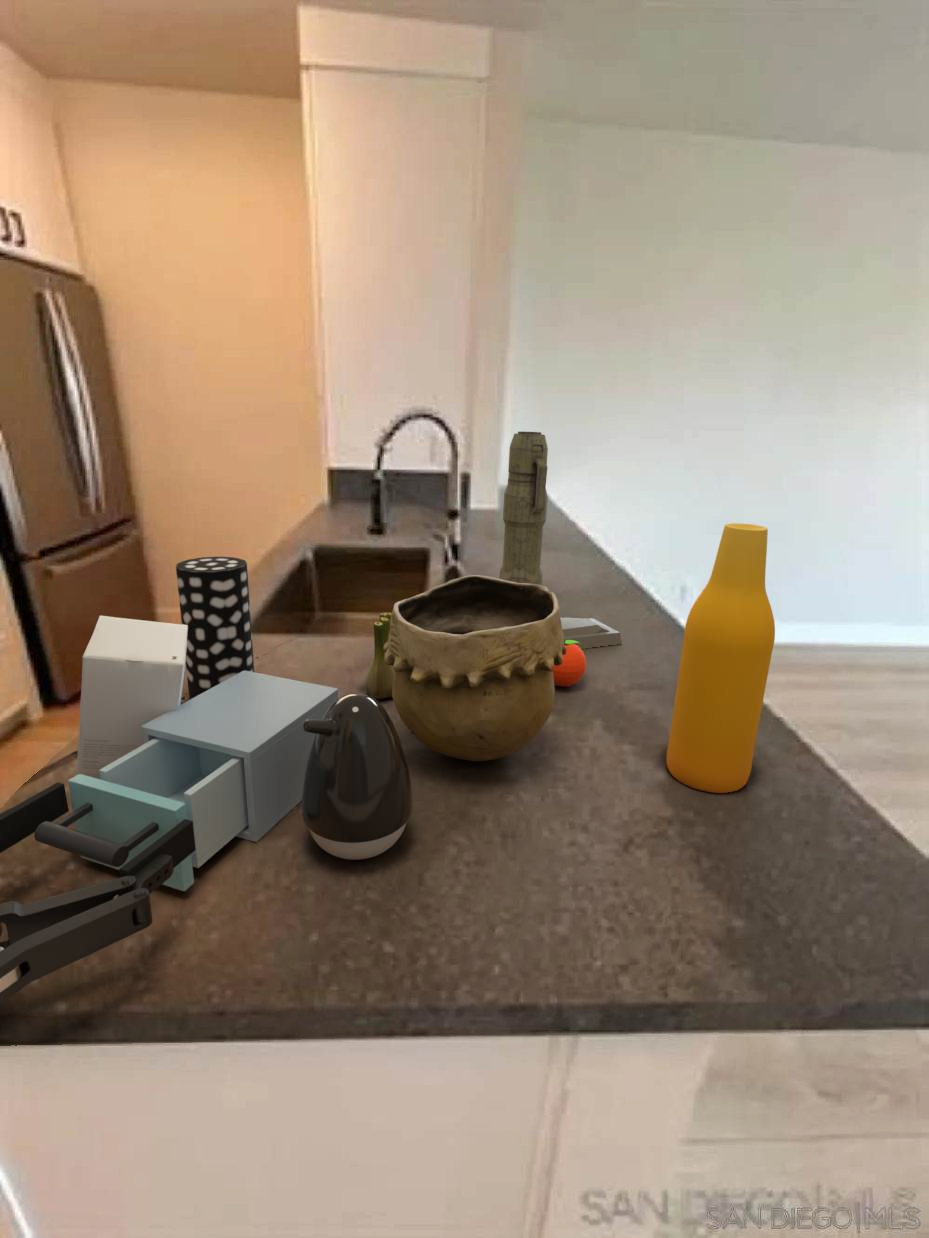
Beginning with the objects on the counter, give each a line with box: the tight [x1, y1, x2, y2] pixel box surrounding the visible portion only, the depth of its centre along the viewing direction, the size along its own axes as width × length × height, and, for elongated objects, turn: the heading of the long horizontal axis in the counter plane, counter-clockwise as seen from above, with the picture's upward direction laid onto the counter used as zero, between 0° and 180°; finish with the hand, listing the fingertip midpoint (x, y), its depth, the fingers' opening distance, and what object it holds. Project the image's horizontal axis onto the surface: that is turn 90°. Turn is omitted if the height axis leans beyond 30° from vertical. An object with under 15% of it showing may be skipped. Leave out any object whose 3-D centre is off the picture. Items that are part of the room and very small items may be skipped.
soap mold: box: [560, 617, 623, 650], centre depth 120 cm, size 10×20×4 cm, turn 113°
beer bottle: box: [666, 522, 776, 794], centre depth 74 cm, size 9×9×29 cm
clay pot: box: [383, 574, 567, 762], centre depth 79 cm, size 21×21×20 cm
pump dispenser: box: [301, 692, 413, 861], centre depth 62 cm, size 10×10×15 cm
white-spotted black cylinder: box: [175, 556, 255, 701], centre depth 87 cm, size 8×8×20 cm
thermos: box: [499, 431, 549, 586], centre depth 138 cm, size 9×12×35 cm
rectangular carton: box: [75, 614, 188, 780], centre depth 71 cm, size 9×9×15 cm
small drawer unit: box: [141, 670, 340, 843], centre depth 71 cm, size 16×13×10 cm
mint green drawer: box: [33, 737, 249, 892], centre depth 61 cm, size 19×11×8 cm, turn 160°
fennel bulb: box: [365, 611, 395, 700], centre depth 94 cm, size 6×5×12 cm
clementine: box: [553, 640, 587, 687], centre depth 101 cm, size 8×7×7 cm
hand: (124, 814), depth 56 cm, fingers open, 13 cm apart
